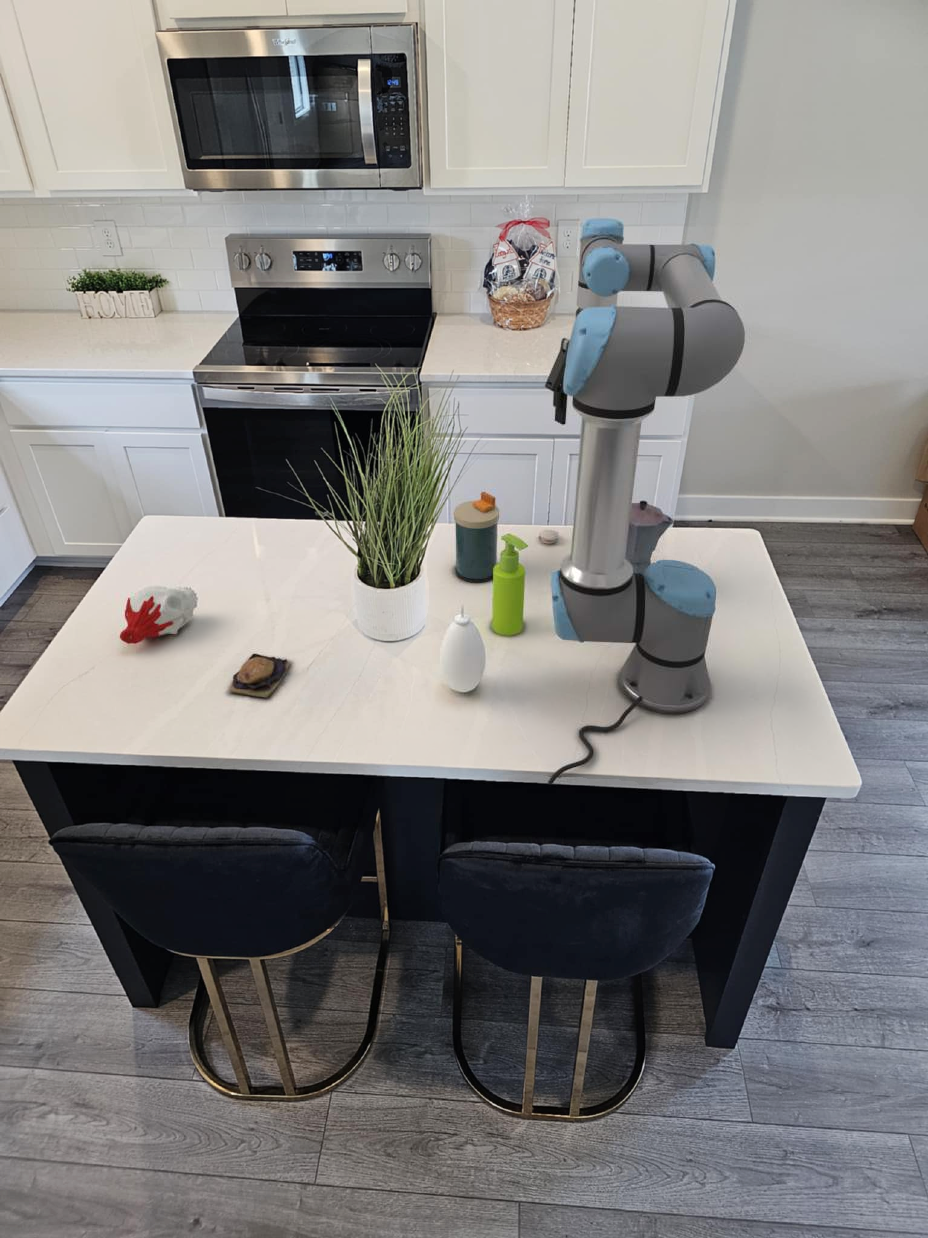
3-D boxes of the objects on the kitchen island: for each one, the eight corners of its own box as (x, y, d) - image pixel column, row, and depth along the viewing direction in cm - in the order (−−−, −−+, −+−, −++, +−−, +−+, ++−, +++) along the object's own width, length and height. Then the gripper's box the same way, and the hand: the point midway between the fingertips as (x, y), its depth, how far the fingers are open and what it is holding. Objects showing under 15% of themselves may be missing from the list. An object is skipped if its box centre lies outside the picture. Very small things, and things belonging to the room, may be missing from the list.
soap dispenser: (509, 642, 160) (512, 550, 149) (486, 625, 165) (487, 535, 153) (532, 630, 163) (537, 540, 152) (508, 614, 168) (511, 525, 156)
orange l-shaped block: (483, 501, 175) (483, 491, 174) (495, 507, 173) (495, 497, 172) (472, 505, 174) (472, 495, 172) (484, 512, 171) (484, 501, 170)
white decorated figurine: (205, 613, 168) (162, 665, 157) (156, 602, 171) (111, 652, 160) (193, 578, 162) (148, 629, 151) (143, 567, 165) (95, 617, 154)
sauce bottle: (490, 678, 152) (491, 595, 141) (478, 706, 145) (478, 621, 135) (448, 671, 153) (446, 587, 143) (434, 698, 147) (432, 613, 137)
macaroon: (534, 540, 191) (535, 530, 190) (551, 533, 194) (551, 523, 192) (547, 547, 189) (548, 537, 187) (564, 540, 191) (564, 531, 190)
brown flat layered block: (269, 701, 147) (266, 684, 145) (225, 693, 149) (221, 676, 147) (294, 663, 155) (292, 647, 153) (252, 656, 157) (249, 640, 155)
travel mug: (478, 555, 186) (478, 496, 178) (506, 572, 180) (508, 511, 172) (445, 570, 181) (444, 509, 173) (474, 588, 176) (474, 526, 167)
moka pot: (662, 603, 170) (676, 515, 159) (585, 595, 173) (594, 508, 161) (663, 578, 178) (676, 492, 166) (589, 571, 181) (597, 486, 169)
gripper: (634, 294, 168) (623, 397, 181) (530, 313, 158) (526, 421, 171) (659, 303, 163) (646, 409, 175) (553, 323, 153) (547, 434, 165)
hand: (587, 415), depth 173 cm, fingers open, 13 cm apart
